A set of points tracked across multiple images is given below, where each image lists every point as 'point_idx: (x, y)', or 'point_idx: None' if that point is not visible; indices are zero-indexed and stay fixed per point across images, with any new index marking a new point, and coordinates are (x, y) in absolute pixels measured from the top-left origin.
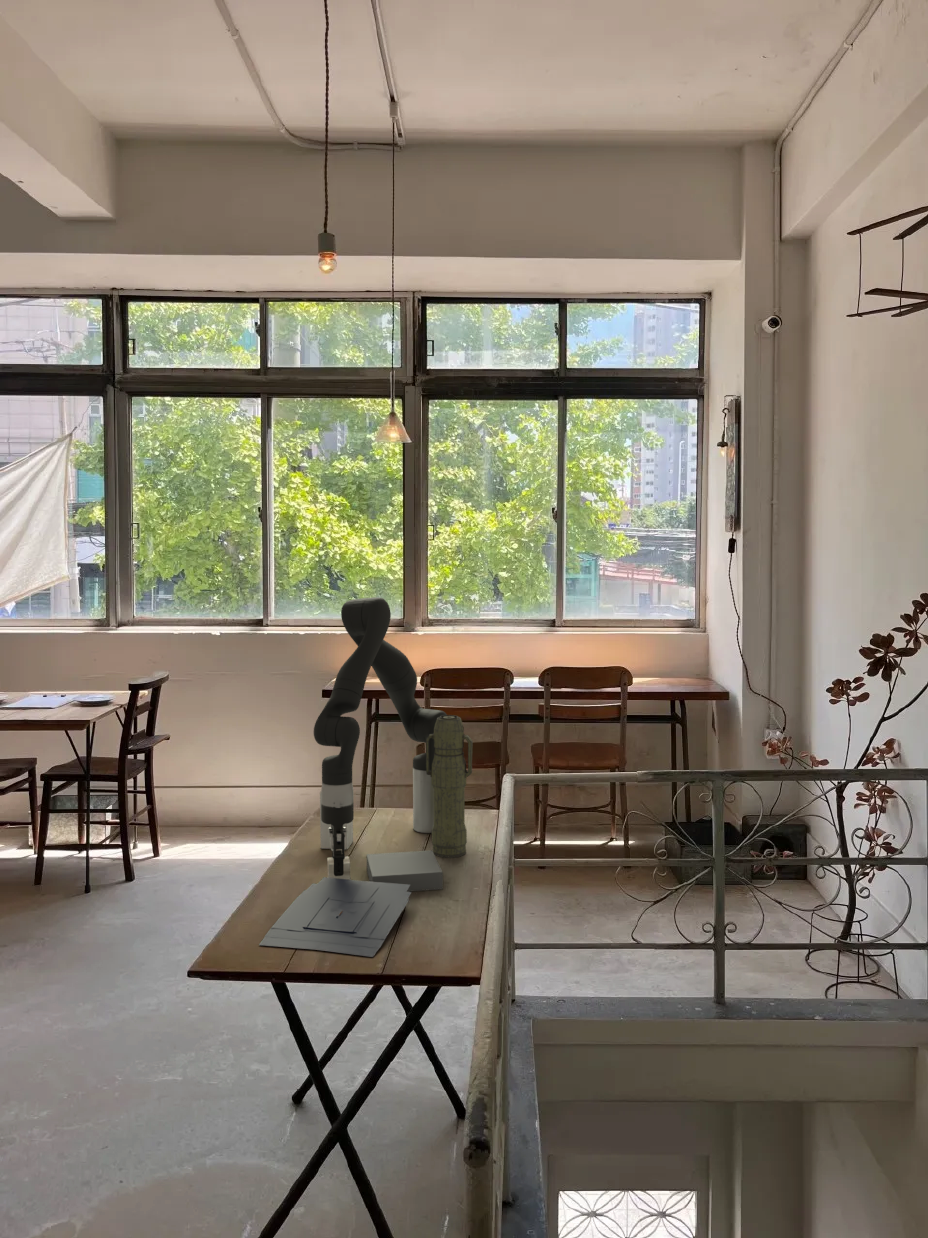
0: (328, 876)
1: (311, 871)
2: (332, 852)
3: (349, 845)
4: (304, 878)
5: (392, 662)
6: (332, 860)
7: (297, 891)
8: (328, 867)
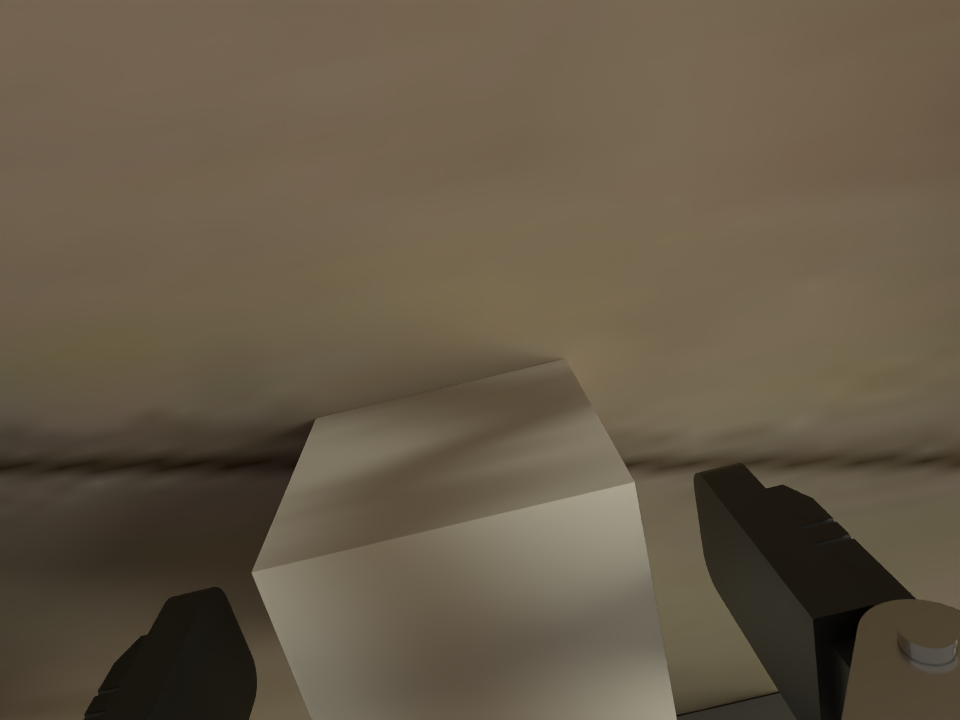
0: (310, 463)
1: (827, 95)
2: (776, 577)
3: None
4: (550, 52)
5: None
6: (480, 593)
7: (25, 63)
8: (266, 543)
